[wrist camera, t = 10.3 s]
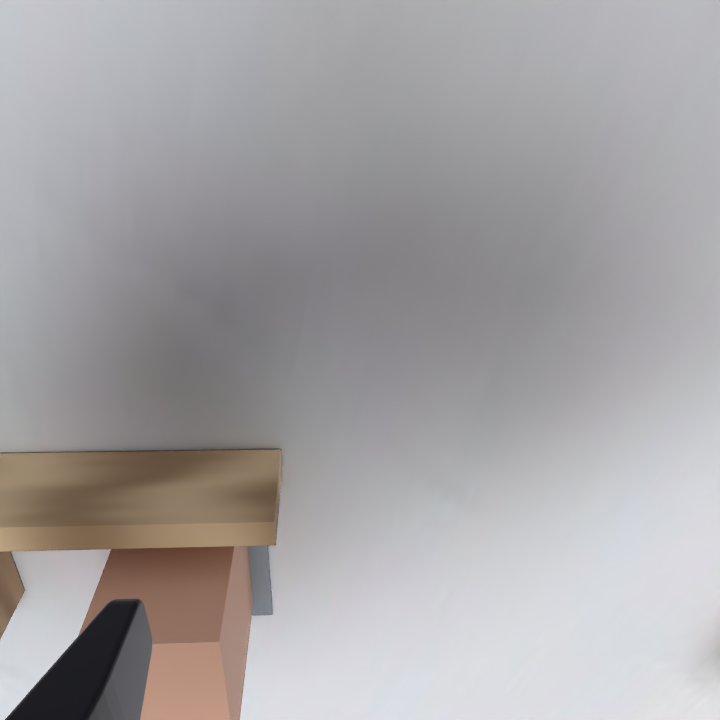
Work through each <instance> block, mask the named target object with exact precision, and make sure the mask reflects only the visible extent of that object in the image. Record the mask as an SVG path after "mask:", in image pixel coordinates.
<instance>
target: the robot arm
mask: <svg viewBox="0 0 720 720" xmlns="http://www.w3.org/2000/svg"><path fill="white" fill-rule="evenodd" d="M151 653H152V633H151V629H150V625H149V621H148V617H147V613H146V609H145V606H144V603H143V602H142V600H140V599H114V600H112V601H110V602H109V603H107V604H106V605H105V607H104V608H103V609H102V610H101V611H100V612H99V613H98V614H97V616H96V617H95V618H94V619H93V620H92V621H91V622H90V624H89V625H88V626H87V627H86V628H85V629H84V630H83V632H82V633H81V634H80V635H79V636H78V637H77V638H76V640H75V641H74V642H73V643H72V644H71V645H70V646H69V647H68V649H67V650H66V651H65V652H64V653H63V654H62V655H61V657H60V658H59V659H58V660H57V661H56V662H55V663H54V665H53V666H52V667H51V668H50V669H49V670H48V671H47V673H46V674H45V675H44V676H43V677H42V678H41V679H40V680H39V682H38V683H37V684H36V685H35V686H34V687H33V688H32V690H31V691H30V692H29V693H28V694H27V695H26V696H25V698H24V699H23V700H22V701H21V702H20V703H19V704H18V706H17V707H16V708H15V709H14V710H13V711H12V712H11V713H10V715H9V716H8V717H7V718H6V719H5V720H140V718H141V712H142V706H143V700H144V694H145V689H146V683H147V677H148V671H149V665H150V659H151Z"/></svg>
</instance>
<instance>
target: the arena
mask: <svg viewBox="0 0 720 720" xmlns="http://www.w3.org/2000/svg"><path fill="white" fill-rule="evenodd" d="M281 477H282V461H281V449H277V450H204V451H131V452H58V453H0V639H1V637H2V635H3V633H4V631H5V629H6V627H7V625H8V623H9V621H10V619H11V617H12V615H13V613H14V611H15V609H16V607H17V605H18V603H19V601H20V599H21V597H22V595H23V593H24V591H25V590H24V588H23V585H22V582H21V579H20V577H19V574H18V571H17V569H16V566H15V563H14V561H13V558H12V555H11V553H10V551H46V550H90V549H134V548H178V547H222V546H248V557H249V567H250V578H251V588H252V599H253V607H252V615H272V614H273V611H272V597H271V583H270V569H269V555H268V545H276V537H277V525H278V513H279V501H280V489H281Z"/></svg>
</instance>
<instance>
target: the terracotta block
mask: <svg viewBox="0 0 720 720" xmlns="http://www.w3.org/2000/svg"><path fill="white" fill-rule="evenodd" d="M114 599H140V600H142V602H143V603H144V606H145V609H146V613H147V617H148V621H149V625H150V629H151V633H152V653H151V659H150V665H149V671H148V677H147V683H146V689H145V694H144V700H143V706H142V712H141V718H140V720H240V712H241V703H242V694H243V685H244V677H245V668H246V659H247V650H248V642H249V633H250V624H251V615H252V607H253V599H252V588H251V578H250V567H249V557H248V546H222V547H178V548H134V549H111V552H110V555H109V557H108V560H107V563H106V565H105V568H104V570H103V573H102V576H101V578H100V581H99V584H98V586H97V589H96V591H95V594H94V597H93V599H92V602H91V605H90V607H89V610H88V612H87V615H86V618H85V620H84V623H83V625H82V628H81V631H80V633H79V635H80V634H81V633H82V632H83V630H84V629H85V628H86V627H87V626H88V625H89V624H90V622H91V621H92V620H93V619H94V618H95V617H96V616H97V614H98V613H99V612H100V611H101V610H102V609H103V608H104V607H105V605H106V604H107V603H109V602H110V601H112V600H114Z"/></svg>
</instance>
